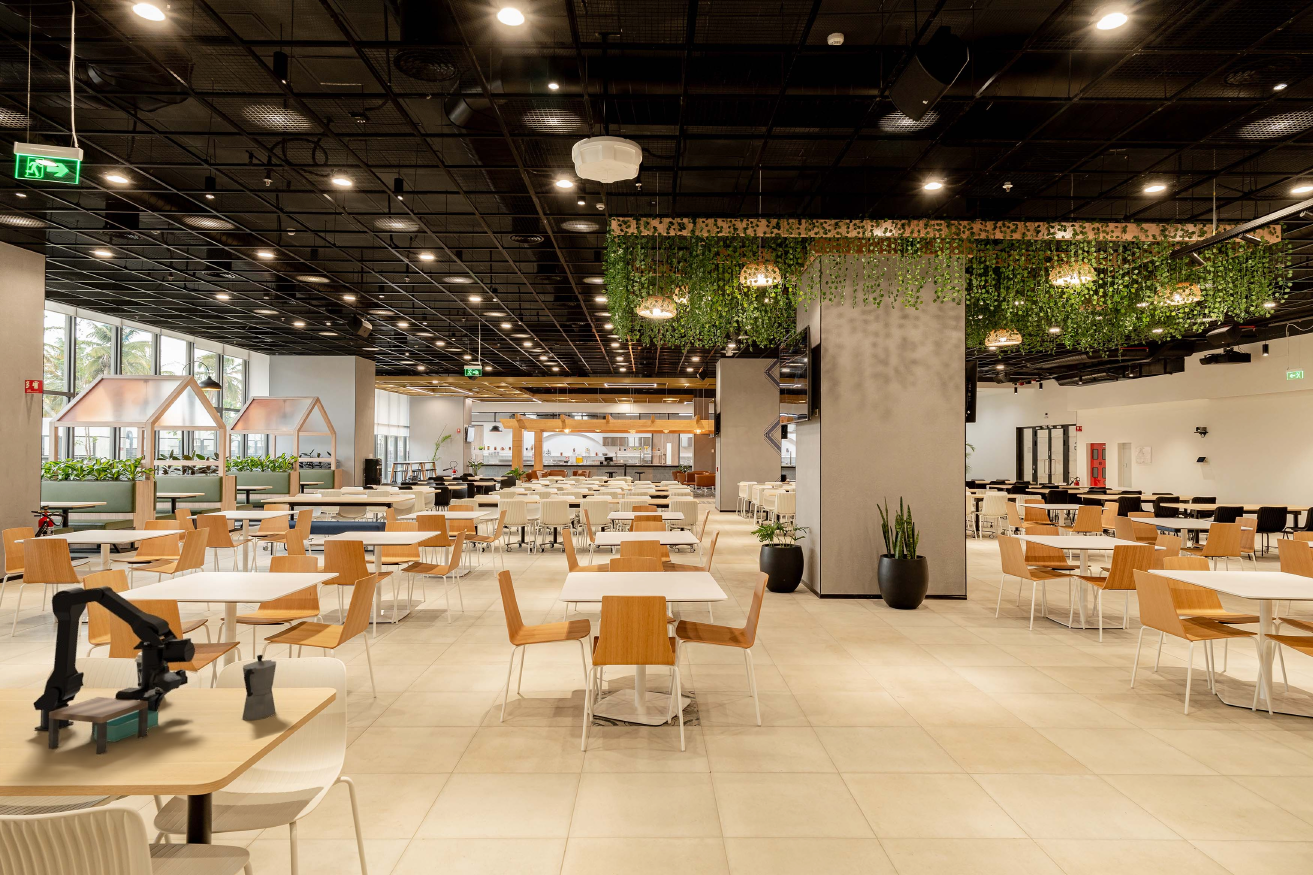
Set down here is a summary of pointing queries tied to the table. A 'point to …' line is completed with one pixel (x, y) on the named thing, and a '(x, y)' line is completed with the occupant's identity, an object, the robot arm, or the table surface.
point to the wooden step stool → (98, 718)
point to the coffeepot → (259, 689)
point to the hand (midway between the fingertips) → (152, 716)
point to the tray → (127, 725)
